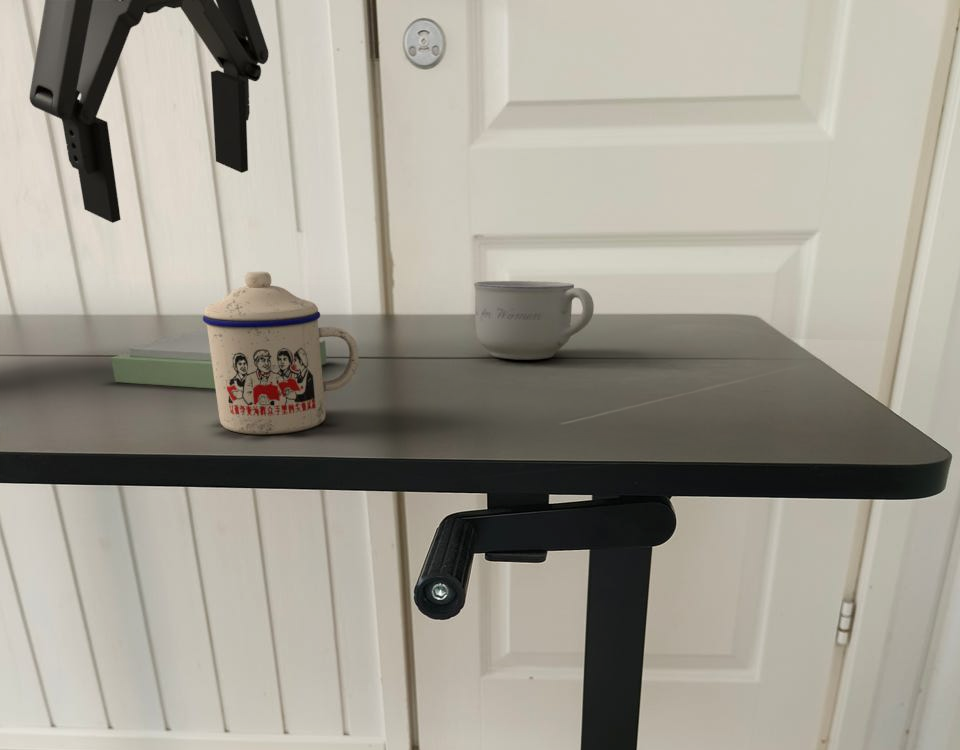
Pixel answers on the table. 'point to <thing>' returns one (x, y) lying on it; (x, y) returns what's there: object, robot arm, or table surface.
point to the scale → (173, 362)
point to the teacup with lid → (270, 359)
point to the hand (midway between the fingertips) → (171, 189)
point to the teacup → (527, 317)
